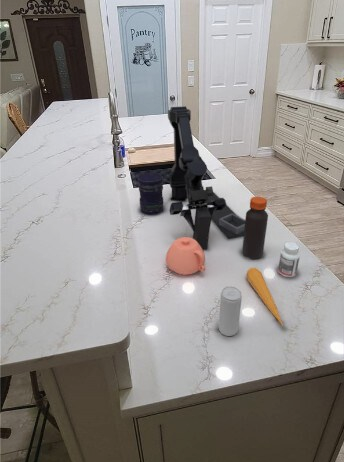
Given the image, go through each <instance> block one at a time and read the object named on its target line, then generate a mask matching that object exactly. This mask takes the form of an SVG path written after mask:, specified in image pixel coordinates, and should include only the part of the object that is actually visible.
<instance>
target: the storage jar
mask: <svg viewBox="0 0 344 462" xmlns="http://www.w3.org/2000/svg"><path fill="white" fill-rule="evenodd" d="M137 178H138V179H137V180H138V183H137V184H138V191H139V207H140V208H139V209H140V213H141V214H142V215H145V216H157V215H160V214H162V213H163V212H164V196H163V190H164V182H163V175H162V174H161V173H159V172H155V171H150V172H149V171H148V172H144V173H140V174H139V175H138V177H137Z"/></svg>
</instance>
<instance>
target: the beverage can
mask: <svg viewBox="0 0 344 462" xmlns="http://www.w3.org/2000/svg"><path fill="white" fill-rule="evenodd" d="M242 297H243V295H242V291H241V290H240V289H239V288H238V287H236V286H233V285H229V286H225V287H223V288H222V290H221V292H220V299H219V301H220V302H219V314H218V315H219V316H218V317H219V318H218V330H219V332H220V333H221V334H222V335H224V336H226V337H233V336H235V335H236V334H237V333H238V332H239V328H240V327H239V326H240V317H241V307H242V300H243V299H242Z"/></svg>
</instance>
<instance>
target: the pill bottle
mask: <svg viewBox="0 0 344 462" xmlns="http://www.w3.org/2000/svg"><path fill="white" fill-rule="evenodd" d="M299 249H300V247H299V245H298V244H297V243H295V242H292V241H289V242H285V243H284V246H283V249H282V250H281V251H280V256H279V263H278V267H277V268H278V269H277V271H278V273H279V274H280V275H281V276H282V277H285V278H293V277H295V276H297V272H298V269H299V268H298V267H299V262H300V258H301V254H300V252H299Z"/></svg>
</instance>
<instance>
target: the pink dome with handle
mask: <svg viewBox="0 0 344 462" xmlns="http://www.w3.org/2000/svg"><path fill="white" fill-rule="evenodd" d="M165 263H166V265H167V267H168V268H169V269H170V270H171V271H173V272H174V273H177V274H180V275H183V276H187V275H192V274H195V273H197V272H199V271H200V272H205V270H206V265H205V263H206V254H205V251H204V250H202V248H201V246H200V245H199V244H198V242H197V241H196V240H194V239H193V237H189V236H182V237H178V238H176V239H174V241H173V242H172V243H171V245H170V246H169V247H168V249H167V252H166V254H165Z"/></svg>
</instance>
